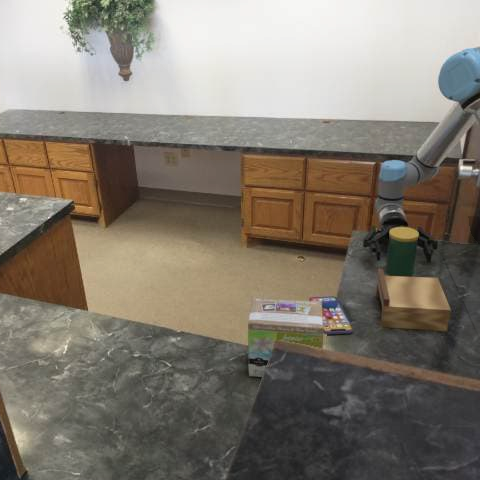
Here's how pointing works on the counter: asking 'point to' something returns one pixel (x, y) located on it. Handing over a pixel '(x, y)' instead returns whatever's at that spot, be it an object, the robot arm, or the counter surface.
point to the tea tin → (401, 251)
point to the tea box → (281, 327)
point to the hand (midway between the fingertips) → (403, 257)
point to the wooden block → (412, 302)
